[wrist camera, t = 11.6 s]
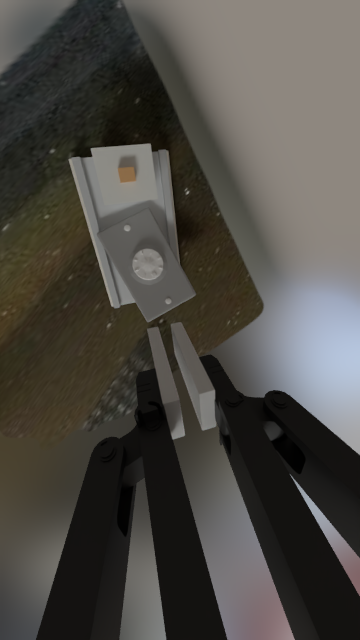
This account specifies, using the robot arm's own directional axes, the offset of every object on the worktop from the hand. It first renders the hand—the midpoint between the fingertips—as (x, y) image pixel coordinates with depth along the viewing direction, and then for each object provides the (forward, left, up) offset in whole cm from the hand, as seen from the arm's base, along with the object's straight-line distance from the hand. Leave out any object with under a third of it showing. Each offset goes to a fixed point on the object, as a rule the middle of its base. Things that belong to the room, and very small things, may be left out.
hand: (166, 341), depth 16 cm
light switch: (0, +1, -23) cm, 23 cm away
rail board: (0, +4, -24) cm, 25 cm away
